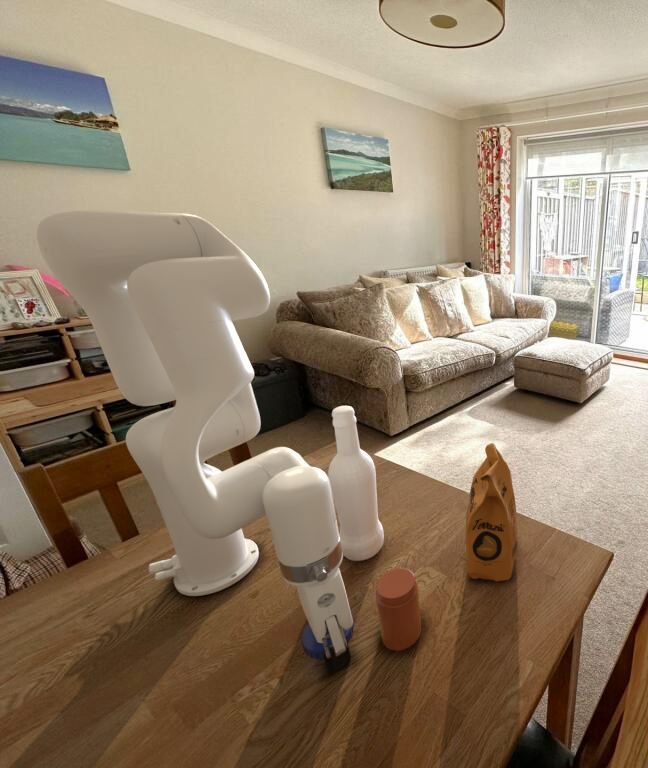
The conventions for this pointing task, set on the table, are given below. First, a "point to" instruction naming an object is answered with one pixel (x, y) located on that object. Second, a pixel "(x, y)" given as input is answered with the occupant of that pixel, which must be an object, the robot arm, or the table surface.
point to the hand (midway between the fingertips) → (331, 646)
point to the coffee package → (491, 520)
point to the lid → (317, 649)
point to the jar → (398, 609)
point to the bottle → (354, 490)
